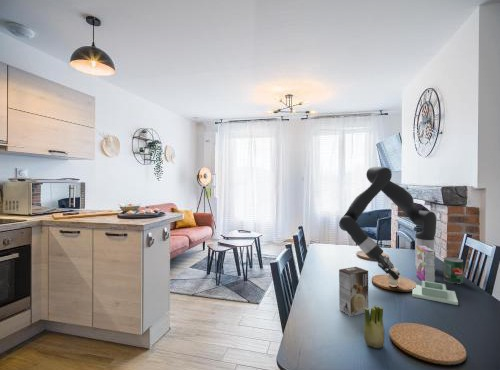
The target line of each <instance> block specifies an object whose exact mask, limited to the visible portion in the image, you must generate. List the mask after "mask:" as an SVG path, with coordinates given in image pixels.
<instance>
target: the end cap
mask: <svg viewBox="0 0 500 370" xmlns="http://www.w3.org/2000/svg"><path fill="white" fill-rule="evenodd" d="M415 285H416V288H414V289H413V288H412V292H411V295H412V297H413V298H418V299H424V300H429V301H435V302H439V303H444V304H450V305H455V306H459V301H458V298H457V294H456V291H455V290H448V289H447V285H446V283H439V282H436V281H435V282H429V281H422V280H421V285H420V284H415Z"/></svg>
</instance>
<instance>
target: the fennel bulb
mask: <svg viewBox="0 0 500 370" xmlns="http://www.w3.org/2000/svg"><path fill="white" fill-rule="evenodd" d="M383 317H384V308H383V307H382V306H378V305H374V307H371V308H370V309H369V307H368V308H365V313H364V327H363V329H364V330H363V335H364V342H365V343H366V345H367V346H369V347H371V348H374V349H378V348H379V349H382V348H383V347H384V343H385V326H384V323H383Z"/></svg>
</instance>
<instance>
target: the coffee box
mask: <svg viewBox="0 0 500 370" xmlns="http://www.w3.org/2000/svg"><path fill="white" fill-rule="evenodd" d="M338 283H339V284H338V286H339V287H338V297H339V298H338V300H339V302H338V305H339V309H340V311H341V312H342V311H343V313H344V312H345V314H346V315H347V314H348V315H347V316H349V315H350V316H349V317H353V316H352V315H355V316H358V315H361V314H365V308H368V309H369V270H367V269H364V268H361V267H357V266H351V267H347V268H339V269H338Z"/></svg>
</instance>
